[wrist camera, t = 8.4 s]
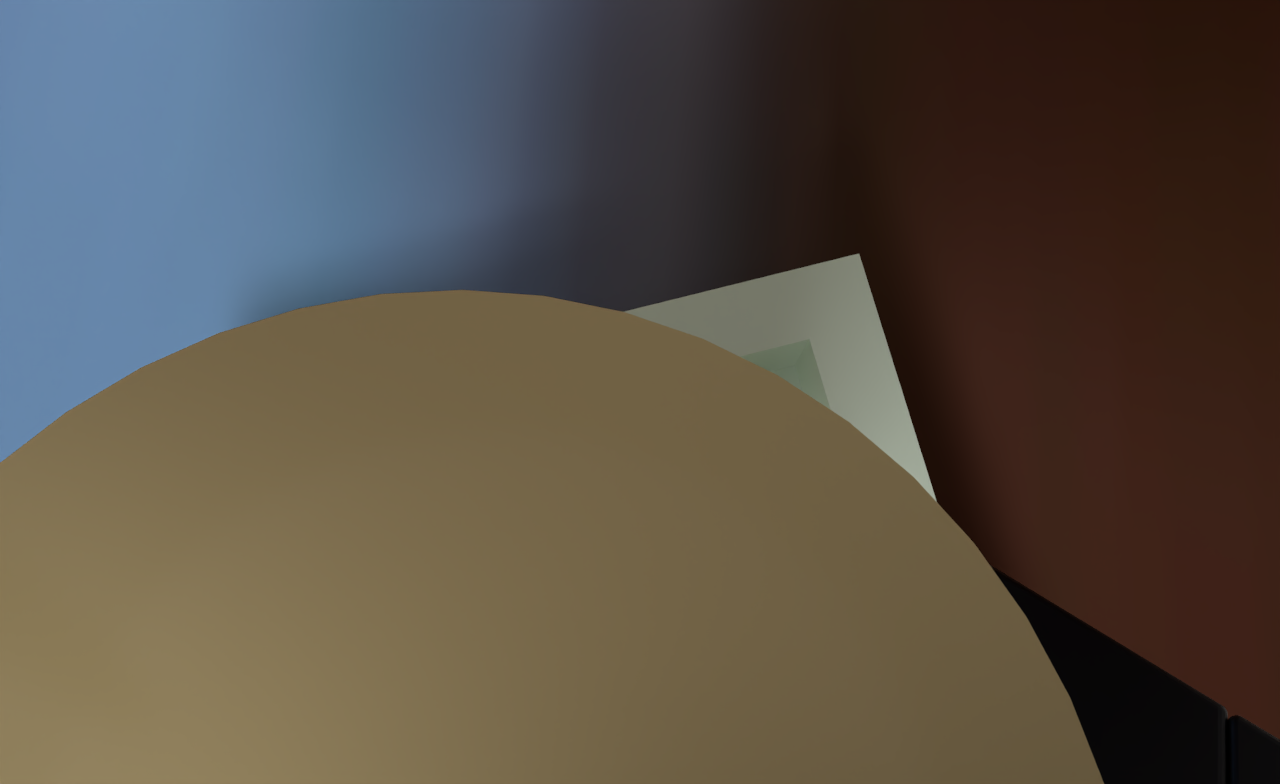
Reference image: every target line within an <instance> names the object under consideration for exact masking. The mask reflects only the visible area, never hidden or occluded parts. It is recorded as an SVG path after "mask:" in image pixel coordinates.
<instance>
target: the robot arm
mask: <svg viewBox="0 0 1280 784" xmlns="http://www.w3.org/2000/svg"><path fill="white" fill-rule="evenodd" d="M990 566H991V565H990ZM991 568H992V569H993V570H994V572H995V573H996V575H997V576H998V577H999V579H1000V580H1001V582H1002V583H1003V584H1004V586H1005V587H1006V589H1007V590H1008V592H1009V593H1010V594H1011V596H1012V597H1013V599H1014V600H1015V601H1016V603H1017V604H1018V606H1019V607H1020V608H1021V610H1022V611H1023V613H1024V614H1025V615H1026V617H1027V619H1028V621H1029V623H1030V624H1031V626H1032V628H1033V630H1034V632H1035V634H1036V635H1037V637H1038V639H1039V641H1040V643H1041V645H1042V647H1043V648H1044V650H1045V652H1046V654H1047V656H1048V658H1049V659H1050V661H1051V663H1052V665H1053V667H1054V669H1055V671H1056V672H1057V674H1058V676H1059V678H1060V680H1061V682H1062V684H1063V685H1064V687H1065V689H1066V691H1067V693H1068V695H1069V696H1070V698H1071V701H1072V703H1073V706H1074V709H1075V711H1076V714H1077V716H1078V719H1079V721H1080V724H1081V726H1082V729H1083V731H1084V734H1085V736H1086V739H1087V742H1088V744H1089V747H1090V749H1091V752H1092V754H1093V757H1094V759H1095V762H1096V764H1097V767H1098V769H1099V772H1100V775H1101V777H1102V780H1103V782H1104V784H1280V740H1279V739H1277V738H1276V737H1274V736H1273V735H1271V734H1269V733H1268V732H1266V731H1264V730H1263V729H1261V728H1259V727H1258V726H1256V725H1254V724H1253V723H1251V722H1249V721H1248V720H1246V719H1244V718H1243V717H1241V716H1238V715H1235V716H1232V717H1230V718H1229V719H1228V717H1227V711H1226V709H1225V707H1223V706H1222V705H1220V704H1219V703H1217V702H1215V701H1214V700H1212V699H1210V698H1209V697H1207V696H1205V695H1204V694H1202V693H1201V692H1199V691H1197V690H1196V689H1194V688H1192V687H1191V686H1189V685H1187V684H1186V683H1184V682H1182V681H1181V680H1179V679H1177V678H1176V677H1174V676H1172V675H1171V674H1169V673H1168V672H1166V671H1164V670H1163V669H1161V668H1159V667H1158V666H1156V665H1154V664H1153V663H1151V662H1149V661H1148V660H1146V659H1144V658H1143V657H1141V656H1139V655H1138V654H1136V653H1135V652H1133V651H1131V650H1130V649H1128V648H1126V647H1125V646H1123V645H1121V644H1120V643H1118V642H1116V641H1115V640H1113V639H1111V638H1110V637H1108V636H1106V635H1105V634H1103V633H1101V632H1100V631H1098V630H1097V629H1095V628H1093V627H1092V626H1090V625H1088V624H1087V623H1085V622H1083V621H1082V620H1080V619H1078V618H1077V617H1075V616H1073V615H1072V614H1070V613H1068V612H1067V611H1065V610H1064V609H1062V608H1060V607H1059V606H1057V605H1055V604H1054V603H1052V602H1050V601H1049V600H1047V599H1045V598H1044V597H1042V596H1040V595H1039V594H1037V593H1035V592H1034V591H1032V590H1031V589H1029V588H1027V587H1026V586H1024V585H1022V584H1021V583H1019V582H1017V581H1016V580H1014V579H1012V578H1011V577H1009V576H1007V575H1006V574H1004V573H1002V572H1001V571H999V570H997V569H996V568H994V567H993V566H991Z"/></svg>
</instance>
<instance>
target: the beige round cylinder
mask: <svg viewBox="0 0 1280 784" xmlns="http://www.w3.org/2000/svg"><path fill="white" fill-rule="evenodd" d="M0 784H1104V782H1103V780H1102V777H1101V775H1100V772H1099V769H1098V767H1097V764H1096V762H1095V759H1094V757H1093V754H1092V752H1091V749H1090V747H1089V744H1088V742H1087V739H1086V736H1085V734H1084V731H1083V729H1082V726H1081V724H1080V721H1079V719H1078V716H1077V714H1076V711H1075V709H1074V706H1073V703H1072V701H1071V698H1070V696H1069V695H1068V693H1067V691H1066V689H1065V687H1064V685H1063V684H1062V682H1061V680H1060V678H1059V676H1058V674H1057V672H1056V671H1055V669H1054V667H1053V665H1052V663H1051V661H1050V659H1049V658H1048V656H1047V654H1046V652H1045V650H1044V648H1043V647H1042V645H1041V643H1040V641H1039V639H1038V637H1037V635H1036V634H1035V632H1034V630H1033V628H1032V626H1031V624H1030V623H1029V621H1028V619H1027V617H1026V615H1025V614H1024V613H1023V611H1022V610H1021V608H1020V607H1019V606H1018V604H1017V603H1016V601H1015V600H1014V599H1013V597H1012V596H1011V594H1010V593H1009V592H1008V590H1007V589H1006V587H1005V586H1004V584H1003V583H1002V582H1001V580H1000V579H999V577H998V576H997V575H996V573H995V572H994V570H993V569H992V568H991V566H990V565H989V563H988V562H987V561H986V559H985V558H984V556H983V555H982V554H981V552H980V551H979V549H978V548H977V546H976V545H975V544H974V542H973V541H972V540H971V539H970V538H969V537H968V536H967V535H966V534H965V533H964V531H963V530H962V529H961V528H960V527H959V526H958V525H957V524H956V523H955V522H954V520H953V519H952V518H951V517H950V516H949V515H948V514H947V513H946V512H945V511H944V510H943V508H942V507H941V506H940V505H939V504H938V503H937V502H936V501H935V500H934V499H933V498H932V496H931V495H930V494H929V493H928V492H927V491H926V490H925V489H924V488H923V487H922V486H921V484H920V483H919V482H918V481H917V480H916V479H915V478H914V477H913V476H912V475H911V474H909V473H908V472H907V471H906V470H905V469H904V468H902V467H901V466H900V465H899V464H898V463H897V462H895V461H894V460H893V459H892V458H891V457H889V456H888V455H887V454H886V453H885V452H884V451H882V450H881V449H880V448H879V447H878V446H877V445H875V444H874V443H873V442H872V441H871V440H870V439H868V438H867V437H866V436H865V435H864V434H862V433H861V432H860V431H859V430H858V429H857V428H855V427H854V426H853V425H852V424H851V423H850V422H848V421H847V420H845V419H844V418H842V417H841V416H839V415H838V414H836V413H835V412H833V411H832V410H830V409H829V408H827V407H825V406H824V405H822V404H821V403H819V402H818V401H816V400H815V399H813V398H812V397H810V396H809V395H807V394H806V393H804V392H803V391H801V390H800V389H798V388H796V387H795V386H793V385H792V384H790V383H789V382H787V381H786V380H784V379H783V378H781V377H780V376H778V375H776V374H774V373H772V372H770V371H768V370H766V369H764V368H762V367H760V366H758V365H756V364H754V363H752V362H750V361H748V360H745V359H743V358H741V357H739V356H737V355H735V354H733V353H731V352H729V351H727V350H725V349H723V348H721V347H719V346H717V345H715V344H713V343H711V342H709V341H707V340H704V339H702V338H699V337H696V336H693V335H690V334H687V333H685V332H682V331H679V330H676V329H673V328H670V327H667V326H664V325H661V324H658V323H655V322H652V321H649V320H646V319H643V318H640V317H637V316H634V315H631V314H629V313H626V312H621V311H616V310H611V309H606V308H601V307H597V306H592V305H587V304H582V303H577V302H572V301H567V300H562V299H557V298H552V297H547V296H539V295H525V294H512V293H498V292H485V291H471V290H450V291H431V292H411V293H392V294H378V295H373V296H367V297H361V298H356V299H350V300H344V301H339V302H333V303H327V304H322V305H316V306H311V307H305V308H299V309H296V310H293V311H289V312H286V313H283V314H280V315H276V316H273V317H270V318H267V319H263V320H260V321H257V322H254V323H250V324H247V325H244V326H241V327H237V328H234V329H231V330H228V331H224V332H221V333H218V334H216V335H214V336H211V337H209V338H207V339H205V340H202V341H200V342H198V343H196V344H193V345H191V346H189V347H187V348H184V349H182V350H180V351H178V352H175V353H173V354H171V355H169V356H166V357H164V358H162V359H160V360H157V361H155V362H153V363H151V364H148V365H146V366H144V367H142V368H140V369H138V370H136V371H135V372H133V373H131V374H130V375H128V376H126V377H125V378H123V379H121V380H120V381H118V382H116V383H115V384H113V385H111V386H110V387H108V388H106V389H104V390H103V391H101V392H99V393H98V394H96V395H94V396H93V397H91V398H89V399H88V400H86V401H84V402H83V403H81V404H79V405H78V406H76V407H74V408H73V409H71V410H69V411H68V412H66V413H65V414H63V415H62V416H61V417H59V418H58V419H57V420H56V421H54V422H53V423H52V424H50V425H49V426H48V427H46V428H45V429H44V430H42V431H41V432H40V433H39V434H37V435H36V436H35V437H33V438H32V439H31V440H29V441H28V442H27V443H26V444H24V445H23V446H22V447H20V448H19V449H18V450H16V451H15V452H14V453H13V454H11V455H10V456H9V457H7V458H6V459H5V460H3V461H2V462H1V463H0Z"/></svg>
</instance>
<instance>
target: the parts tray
mask: <svg viewBox="0 0 1280 784" xmlns="http://www.w3.org/2000/svg"><path fill="white" fill-rule="evenodd" d="M624 312H626V313H629V314H631V315H634V316H637V317H640V318H643V319H646V320H649V321H652V322H655V323H658V324H661V325H664V326H667V327H670V328H673V329H676V330H679V331H682V332H685V333H687V334H690V335H693V336H696V337H699V338H702V339H704V340H707V341H709V342H711V343H713V344H715V345H717V346H719V347H721V348H723V349H725V350H727V351H729V352H731V353H733V354H735V355H737V356H739V357H741V358H743V359H745V360H748V361H750V362H752V363H754V364H756V365H758V366H760V367H762V368H764V369H766V370H768V371H770V372H772V373H774V374H776V375H778V376H780V377H781V378H783V379H784V380H786V381H787V382H789V383H790V384H792V385H793V386H795V387H796V388H798V389H800V390H801V391H803V392H804V393H806V394H807V395H809V396H810V397H812V398H813V399H815V400H816V401H818V402H819V403H821V404H822V405H824V406H825V407H827V408H829V409H830V410H832V411H833V412H835V413H836V414H838V415H839V416H841V417H842V418H844V419H845V420H847V421H848V422H850V423H851V424H852V425H853V426H854V427H855V428H857V429H858V430H859V431H860V432H861V433H862V434H864V435H865V436H866V437H867V438H868V439H870V440H871V441H872V442H873V443H874V444H875V445H877V446H878V447H879V448H880V449H881V450H882V451H884V452H885V453H886V454H887V455H888V456H889V457H891V458H892V459H893V460H894V461H895V462H897V463H898V464H899V465H900V466H901V467H902V468H904V469H905V470H906V471H907V472H908V473H909V474H911V475H912V476H913V477H914V478H915V479H916V480H917V481H918V482H919V483H920V484H921V486H922V487H923V488H924V489H925V490H926V491H927V492H928V493H929V494H930V495H931V496H932V498H933V499H934V500H935V501H936V498H935V494H934V491H933V488H932V485H931V482H930V479H929V475H928V472H927V469H926V466H925V463H924V459H923V456H922V453H921V450H920V447H919V443H918V440H917V437H916V434H915V431H914V427H913V424H912V421H911V418H910V415H909V411H908V408H907V405H906V402H905V399H904V395H903V392H902V389H901V386H900V383H899V380H898V376H897V373H896V370H895V367H894V364H893V360H892V357H891V354H890V351H889V348H888V344H887V341H886V338H885V335H884V332H883V328H882V325H881V322H880V319H879V316H878V312H877V309H876V306H875V303H874V300H873V296H872V293H871V290H870V287H869V284H868V281H867V277H866V274H865V271H864V268H863V265H862V261H861V258H860V255H859V254H855V255H851V256H847V257H843V258H839V259H835V260H831V261H827V262H822V263H818V264H814V265H810V266H806V267H802V268H798V269H794V270H790V271H786V272H782V273H778V274H774V275H770V276H766V277H762V278H758V279H754V280H750V281H746V282H742V283H737V284H733V285H729V286H725V287H721V288H717V289H713V290H709V291H705V292H701V293H697V294H693V295H689V296H685V297H681V298H677V299H673V300H669V301H665V302H661V303H657V304H653V305H648V306H644V307H640V308H636V309H632V310H628V311H624ZM936 502H937V501H936Z"/></svg>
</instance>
